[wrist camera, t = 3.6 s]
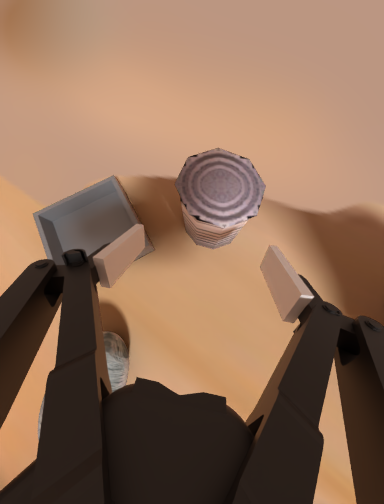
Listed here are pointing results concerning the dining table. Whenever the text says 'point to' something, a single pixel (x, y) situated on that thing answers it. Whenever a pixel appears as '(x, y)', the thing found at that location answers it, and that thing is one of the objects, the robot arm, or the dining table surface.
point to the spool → (110, 364)
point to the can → (218, 196)
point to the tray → (87, 220)
